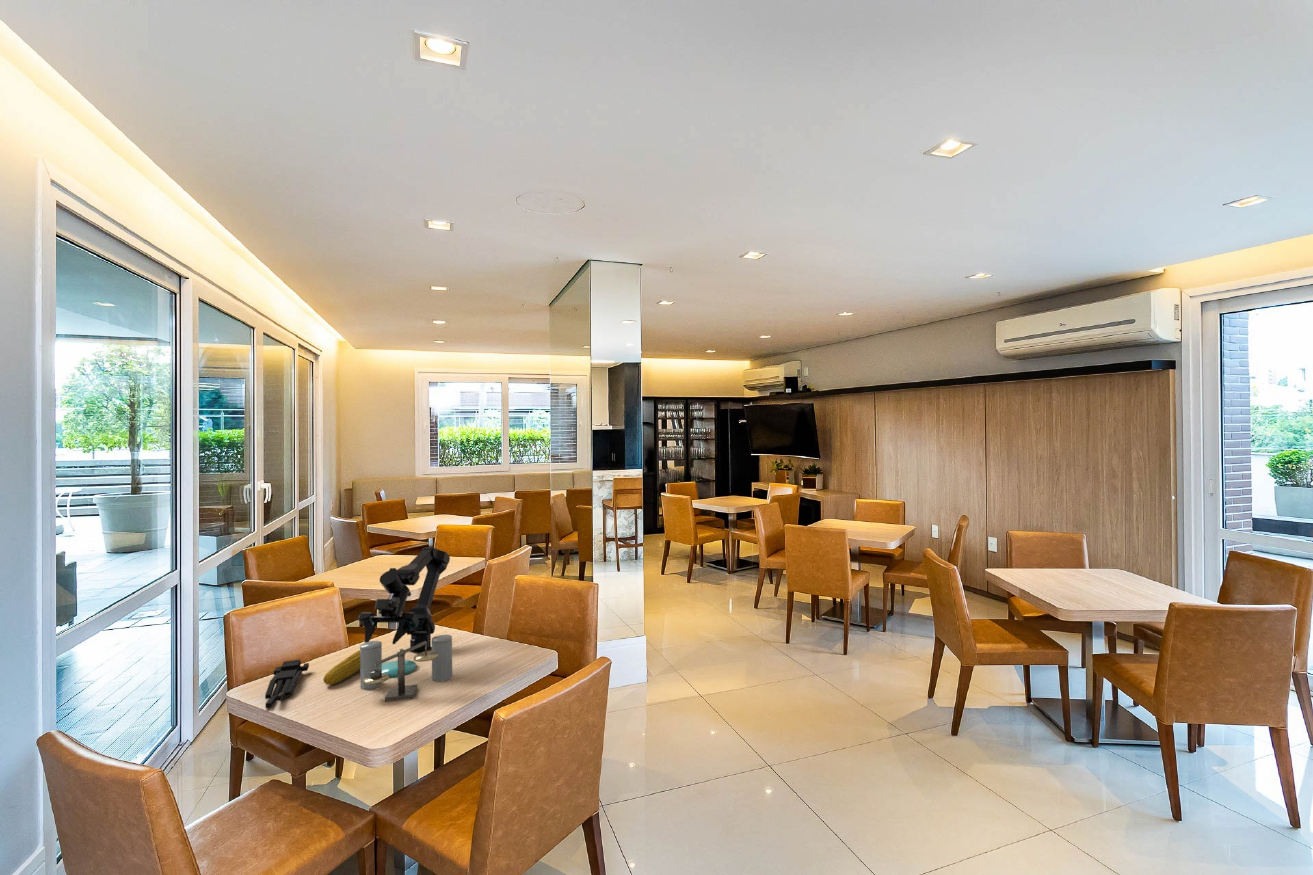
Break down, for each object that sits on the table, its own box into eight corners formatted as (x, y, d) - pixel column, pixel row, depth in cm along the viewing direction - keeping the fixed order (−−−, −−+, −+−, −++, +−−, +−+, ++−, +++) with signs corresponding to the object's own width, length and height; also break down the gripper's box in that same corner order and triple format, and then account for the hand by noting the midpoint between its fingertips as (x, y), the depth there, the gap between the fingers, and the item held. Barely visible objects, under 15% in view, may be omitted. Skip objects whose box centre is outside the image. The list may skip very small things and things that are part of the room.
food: (357, 664, 206) (356, 647, 206) (372, 664, 205) (372, 647, 206) (318, 689, 185) (318, 669, 185) (336, 689, 184) (336, 669, 185)
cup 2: (443, 673, 196) (443, 633, 196) (456, 676, 193) (456, 636, 193) (427, 679, 191) (427, 638, 191) (440, 682, 187) (440, 641, 188)
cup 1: (374, 680, 191) (373, 639, 191) (386, 683, 188) (385, 642, 188) (355, 687, 185) (355, 645, 186) (368, 690, 182) (367, 648, 183)
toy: (292, 710, 172) (308, 671, 200) (291, 694, 172) (308, 657, 200) (253, 716, 168) (276, 676, 196) (253, 699, 168) (276, 661, 196)
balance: (439, 685, 185) (439, 636, 186) (436, 695, 178) (436, 644, 178) (366, 693, 180) (366, 642, 180) (360, 704, 172) (360, 651, 173)
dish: (399, 661, 208) (399, 657, 208) (424, 667, 202) (423, 663, 202) (365, 673, 197) (365, 669, 197) (389, 680, 190) (389, 676, 190)
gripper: (360, 588, 198) (341, 631, 187) (414, 587, 197) (398, 631, 186) (373, 605, 206) (355, 648, 194) (425, 605, 205) (410, 648, 193)
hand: (379, 643), depth 192 cm, fingers open, 9 cm apart
